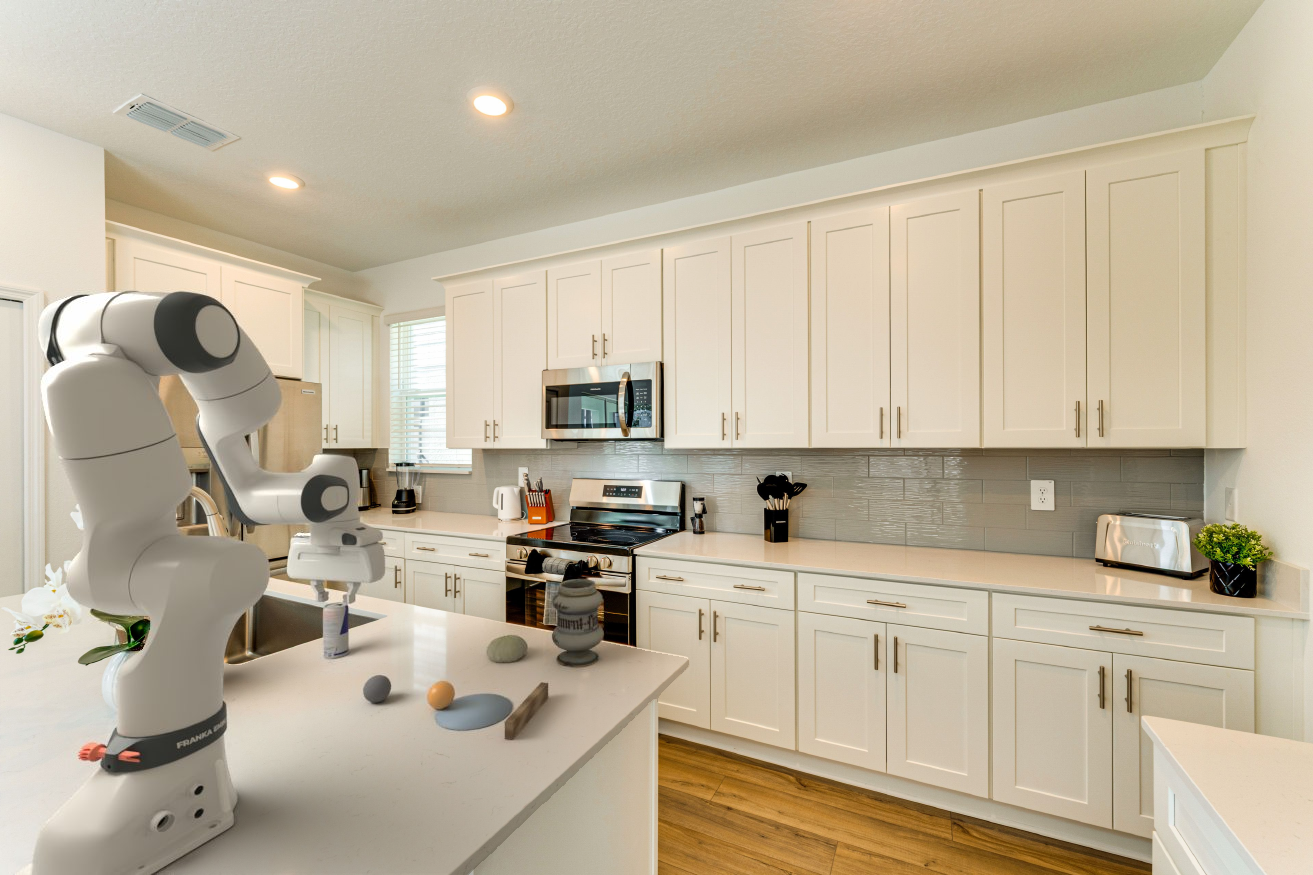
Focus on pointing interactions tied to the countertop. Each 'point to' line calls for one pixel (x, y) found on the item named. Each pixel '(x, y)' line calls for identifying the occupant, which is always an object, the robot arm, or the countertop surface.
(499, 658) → the sea urchin shell
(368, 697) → the gray ball
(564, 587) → the apothecary jar
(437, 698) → the object ball
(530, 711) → the wall
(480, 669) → the countertop surface
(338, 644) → the energy drink
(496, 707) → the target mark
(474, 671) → the countertop surface
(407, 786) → the countertop surface
